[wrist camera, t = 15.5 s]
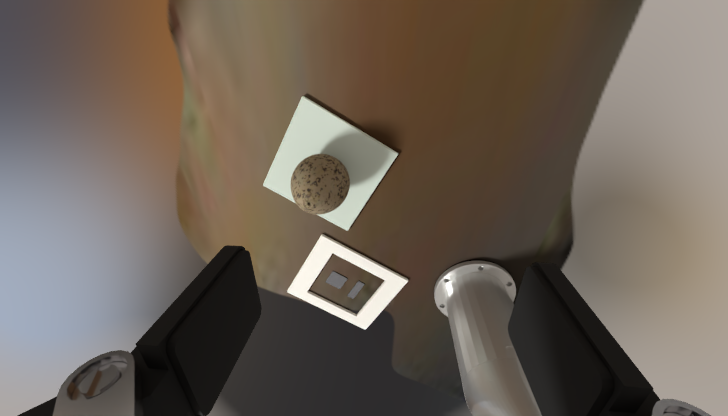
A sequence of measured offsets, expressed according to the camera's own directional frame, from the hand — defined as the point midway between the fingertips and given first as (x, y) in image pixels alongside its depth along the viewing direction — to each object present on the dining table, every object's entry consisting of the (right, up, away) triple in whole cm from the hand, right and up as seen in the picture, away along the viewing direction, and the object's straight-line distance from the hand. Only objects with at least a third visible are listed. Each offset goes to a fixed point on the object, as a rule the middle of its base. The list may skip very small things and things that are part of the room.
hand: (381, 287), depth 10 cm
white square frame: (-4, -10, +40) cm, 41 cm away
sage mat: (-6, +8, +31) cm, 32 cm away
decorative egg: (-6, +8, +30) cm, 32 cm away
